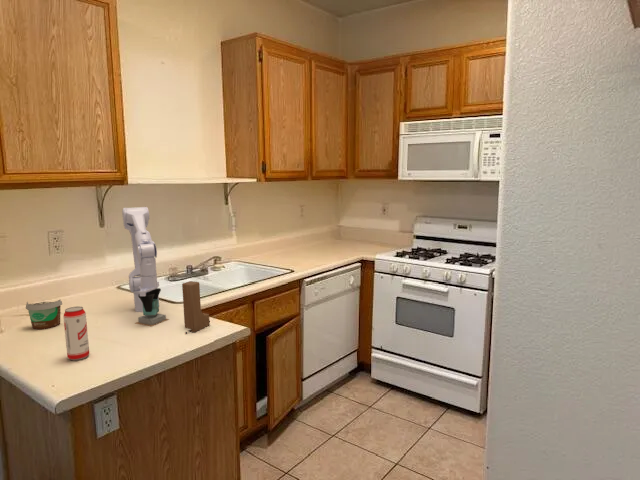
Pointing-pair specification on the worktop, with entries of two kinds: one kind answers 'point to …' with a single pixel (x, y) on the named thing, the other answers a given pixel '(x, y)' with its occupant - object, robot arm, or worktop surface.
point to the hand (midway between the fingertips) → (151, 309)
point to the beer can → (76, 333)
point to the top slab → (152, 319)
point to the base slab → (150, 325)
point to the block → (154, 308)
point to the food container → (44, 314)
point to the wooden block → (193, 307)
